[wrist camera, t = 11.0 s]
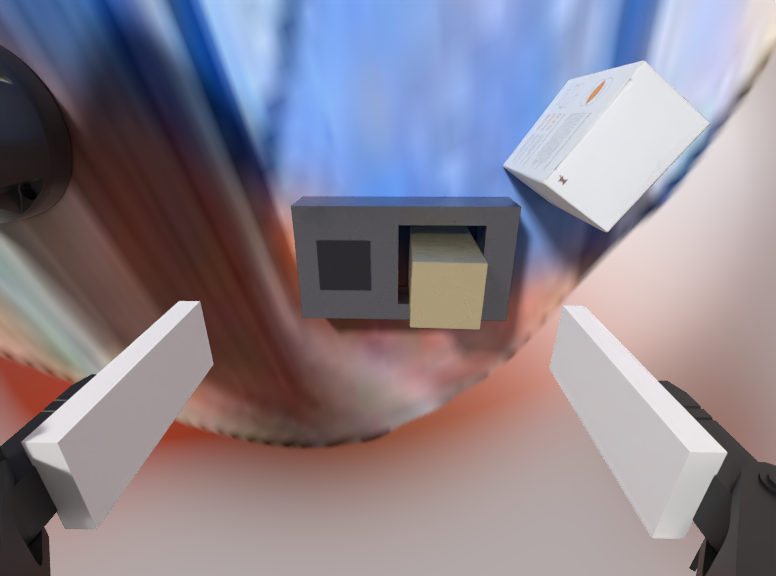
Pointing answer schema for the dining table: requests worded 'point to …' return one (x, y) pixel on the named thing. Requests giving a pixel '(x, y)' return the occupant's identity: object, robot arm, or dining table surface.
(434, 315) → the beige square peg
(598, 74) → the small box
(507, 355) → the dining table surface
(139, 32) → the dining table surface
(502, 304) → the grey square hole block
